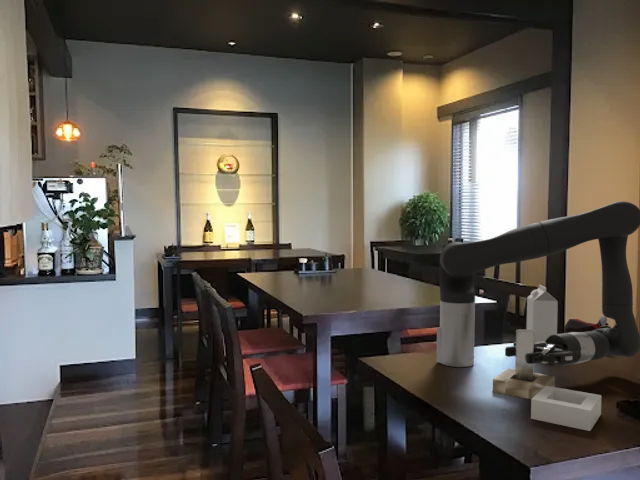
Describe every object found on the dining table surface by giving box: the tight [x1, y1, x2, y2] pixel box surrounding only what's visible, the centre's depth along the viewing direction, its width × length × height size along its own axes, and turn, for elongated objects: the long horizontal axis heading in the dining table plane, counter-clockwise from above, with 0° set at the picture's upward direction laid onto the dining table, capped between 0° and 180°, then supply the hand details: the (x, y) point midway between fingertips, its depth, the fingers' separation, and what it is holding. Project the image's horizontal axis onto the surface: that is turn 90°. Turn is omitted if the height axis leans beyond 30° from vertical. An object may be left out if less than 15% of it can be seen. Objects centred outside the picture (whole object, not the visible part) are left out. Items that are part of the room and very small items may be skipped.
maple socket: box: [492, 368, 556, 400], centre depth 133 cm, size 11×11×3 cm
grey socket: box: [530, 386, 602, 432], centre depth 116 cm, size 11×11×4 cm
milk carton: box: [526, 284, 559, 343], centre depth 173 cm, size 7×7×19 cm
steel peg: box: [514, 328, 535, 382], centre depth 132 cm, size 4×4×14 cm
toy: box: [563, 315, 617, 333], centre depth 175 cm, size 12×9×15 cm
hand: (516, 355), depth 131 cm, fingers open, 6 cm apart
